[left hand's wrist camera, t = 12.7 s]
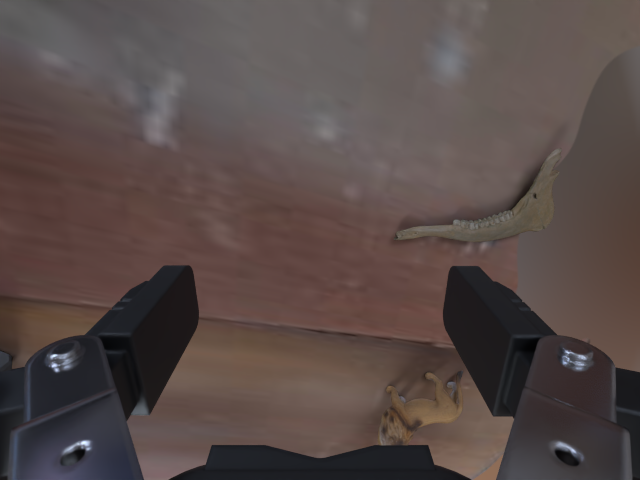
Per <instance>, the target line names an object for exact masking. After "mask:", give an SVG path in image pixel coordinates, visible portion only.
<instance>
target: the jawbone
mask: <svg viewBox="0 0 640 480" xmlns="http://www.w3.org/2000/svg"><path fill="white" fill-rule="evenodd" d="M561 151H562V150H561V148H560V149H556V150H554V151H553V152H552V153H551V154H550V155H549V156H548V157H547V158H546V160H545V161H544V163H543V165H542V166H541V168H540V170H539V173H538V175H537V176H536V178H535V180H534V182H533V184H532V186H531V187H530V189H529V191H528V192H527V193H526V194H525V196H524V197H523V198H521V199H520V201H519V202H518V203H517V205H516V206H515V207H514V208H513V209H512V210H508V211H504V213H501V212H500V213H499V214H498V215H496V214H495V215H493V216H492V217H491V216H488V218H487V219H486V218H483V219H482V220H481V219H478V220H477V221H476V220H475V221H474V222H473V221H472V220H470V221H469V222H468V221H466V220H464V219H463V220H461V221H460V220H458V219H456V220H454V221H453V224H452V225H438V226H418V227H412V228H409V229H407V230H402V231H398V232H396V237H395V238H394V240H406V239H413V238H418V237H424V236H437V237H444V238H449V239H454V240H460V241H468V242H484V241H491V240H497V239H502V238H506V237H510V236H513V235H516V234H519V233H522V232H526V231H540V230H542V229H545V228H546V227H547V226H548V225H549V224H550V222H551V220H552V218H553V215H554V201H553V197H552V186H553V182H554V180H555V179H556V178H557V176H558V175H559V171H556V170H555V171H552V169H553V167H554V165H555V164H556V162H557V161H558V160H559V159H560V158H561V156H560V153H561Z"/></svg>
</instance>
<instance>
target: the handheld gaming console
mask: <svg viewBox="0 0 640 480" xmlns="http://www.w3.org/2000/svg"><path fill="white" fill-rule="evenodd" d="M11 369H12V356H10V355H9V354H6V353H4V352H1V351H0V372H2V371H7V370H11Z"/></svg>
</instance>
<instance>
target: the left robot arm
mask: <svg viewBox="0 0 640 480" xmlns="http://www.w3.org/2000/svg"><path fill="white" fill-rule="evenodd" d="M198 319H199V309H198V302H197V295H196V288H195V281H194V274H193V270H192V268H191V267H190V266H163V267H162V268H161V269H160V270H159V271H158V272H157V273H156V274H155V275H154V276H153V277H152V278H151V279H150V281H145V282H143V283H141V284H140V285H138V286H136V287H134V288H132V289H131V290H129V291H128V292H127V293H126V294H125V295H124V296H123V297H122V298H121V299H120V302H117V303H116V304H115V305H114V306H113V307H112V310H109V311H108V312H107V313H106V314H105V315H104V316H103V317H102V318H101V319H100V320H99V321H98V322H97V323H96V324H95V325H94V326H93V327H92V328H91V329H90V330H89V331H88V332H87V333H86V334H85V335H80V336H73V337H68V338H65V339H62V340H59V341H56V342H54V343H52V344H49V345H48V346H46V347H44V348H42V349H41V350H39V351H38V352H36V353H35V354H34V355H33V356H32V357H31V358H30V359H29V360H28V361H27V363H26V365H25V367H22V368H17V369H12V370H7V371H2V372H0V480H144V479H143V475H142V472H141V468H140V465H139V462H138V458H137V455H136V452H135V448H134V445H133V442H132V438H131V435H130V432H129V428H128V425H127V420H128V418H129V417H130V415H150V413H151V412H152V410H153V408H154V406H155V404H156V402H157V400H158V399H159V397H160V395H161V393H162V391H163V389H164V388H165V386H166V384H167V382H168V380H169V378H170V376H171V375H172V373H173V371H174V369H175V367H176V365H177V364H178V362H179V360H180V358H181V356H182V354H183V352H184V351H185V349H186V347H187V345H188V343H189V341H190V340H191V338H192V336H193V334H194V332H195V330H196V328H197V325H198ZM443 321H444V326H445V329H446V331H447V333H448V335H449V337H450V338H451V340H452V342H453V344H454V346H455V348H456V349H457V351H458V353H459V355H460V357H461V359H462V360H463V362H464V364H465V366H466V368H467V369H468V371H469V373H470V375H471V377H472V379H473V380H474V382H475V384H476V386H477V388H478V390H479V391H480V393H481V395H482V397H483V399H484V400H485V402H486V404H487V406H488V408H489V410H490V411H491V413H492V415H493V416H513V418H514V422H513V425H512V428H511V432H510V435H509V438H508V442H507V445H506V448H505V452H504V455H503V458H502V462H501V465H500V469H499V472H498V475H497V479H496V480H640V372H635V371H630V370H625V369H620V368H616V367H615V365H614V363H613V361H612V360H611V359H610V358H609V357H608V356H607V355H606V354H605V353H604V352H602V351H601V350H599V349H598V348H596V347H594V346H592V345H591V344H588V343H586V342H584V341H581V340H578V339H575V338H572V337H567V336H560V335H557V334H556V333H555V332H554V331H553V330H552V329H551V328H550V327H549V326H548V325H547V324H546V323H545V322H544V321H543V320H542V319H541V318H540V317H539V316H538V315H537V314H536V313H534V312H533V311H531V309H530V308H529V307H528V306H527V305H526V304H525V303H524V302H522V300H521V299H520V298H519V297H518V296H517V295H516V294H515V293H514V292H513V291H512V290H511V289H509V288H507V287H505V286H503V285H502V284H500V283H498V282H493V281H492V280H491V279H490V278H489V277H488V276H487V274H486V273H485V272H484V271H483V270H482V269H481V268H480V267H478V266H452V267H451V268H450V271H449V275H448V281H447V288H446V295H445V301H444V308H443ZM169 480H471V479H469V478H467V477H465V476H463V475H461V474H459V473H457V472H455V471H452V470H449V469H447V468H444V467H441V466H437V465H434V463H433V459H432V456H431V453H430V450H429V447H428V445H374V446H370V447H366V448H362V449H358V450H354V451H350V452H346V453H342V454H338V455H334V456H330V457H326V458H314V457H310V456H306V455H302V454H298V453H294V452H290V451H286V450H282V449H278V448H274V447H270V446H266V445H212V447H211V450H210V453H209V456H208V459H207V462H206V465H203V466H199V467H196V468H193V469H191V470H188V471H185V472H183V473H181V474H179V475H177V476H175V477H173V478H171V479H169Z"/></svg>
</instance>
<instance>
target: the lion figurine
mask: <svg viewBox="0 0 640 480" xmlns="http://www.w3.org/2000/svg"><path fill="white" fill-rule="evenodd" d="M462 373H463V371H460V372H458V374H457V377H456V383H455V382H448V383H447V387H448V388H449V389H453V391H452V393H451V394H450V395H449V394H448V393H447V392H446V391H445V390H444V388H443V385H442V381H441V380H439V379H438V378H437V377H436V376H435V375H434V374H432V373H430V372H428V373H426V374H425V378H426V379H427V380H433V381H434V382H435V397H436V399H435V400H433V401H432V400H429V399H423V398H419V399H413V400H411V401H408V402H407V403H406V400H405V399H404V397H402V396H399V395H398V392H397V390H396V389H395V388H394V387H393V386H388V387H387V389H386V390H387V392H388V393H391V401H392V407H390V408H388V409H387V410H386V412H385V413H384V414H383V415H382V419H381V424H380V427H379V429H378V433H379V435H378V444H379V445H408V443H409V442H410V440H412V438H413V433H414V432H415V431H416V430H417V429H418V428H419V427H422V426H425V425H428V424H432V423H451V422H453V421H455V420H456V419H457V418H458V416H459V415H460V414H461V412H462V408H463V398H462V392H461V387H460V379H461V377H462ZM457 398H458V404H456V401H457Z"/></svg>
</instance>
